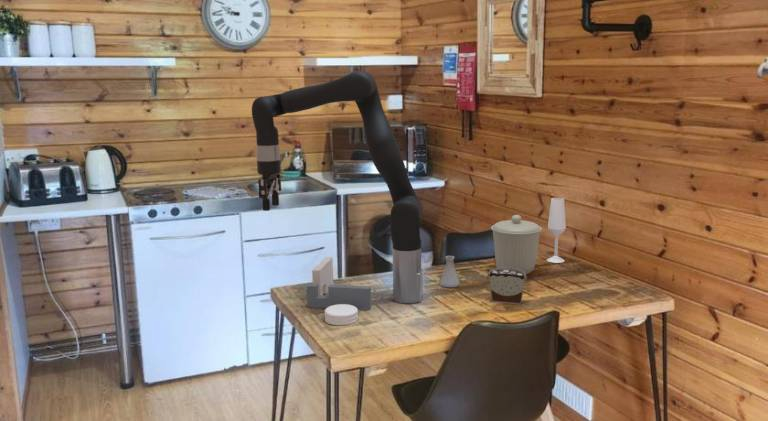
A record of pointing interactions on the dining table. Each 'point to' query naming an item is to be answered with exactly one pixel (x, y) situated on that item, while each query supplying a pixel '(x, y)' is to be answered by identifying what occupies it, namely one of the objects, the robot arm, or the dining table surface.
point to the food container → (506, 285)
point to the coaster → (341, 314)
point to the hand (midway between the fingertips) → (271, 207)
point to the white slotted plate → (323, 275)
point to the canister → (516, 243)
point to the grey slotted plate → (340, 296)
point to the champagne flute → (556, 224)
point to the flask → (449, 274)
